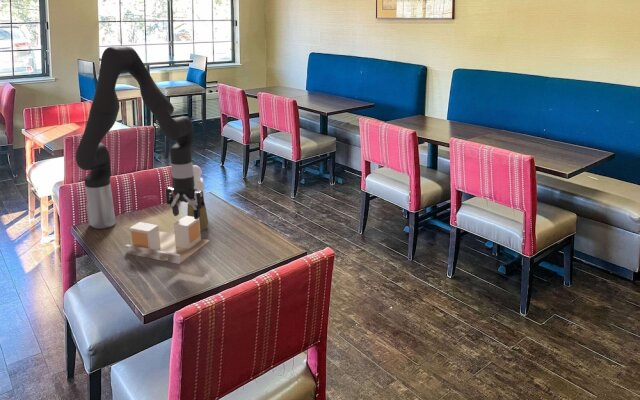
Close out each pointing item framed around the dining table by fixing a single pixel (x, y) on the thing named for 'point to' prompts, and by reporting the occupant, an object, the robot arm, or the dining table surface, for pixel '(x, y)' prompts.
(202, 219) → the squeeze bottle
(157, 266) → the dining table surface
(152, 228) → the faced carton
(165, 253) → the shelf board
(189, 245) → the turned carton
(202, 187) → the white figurine
